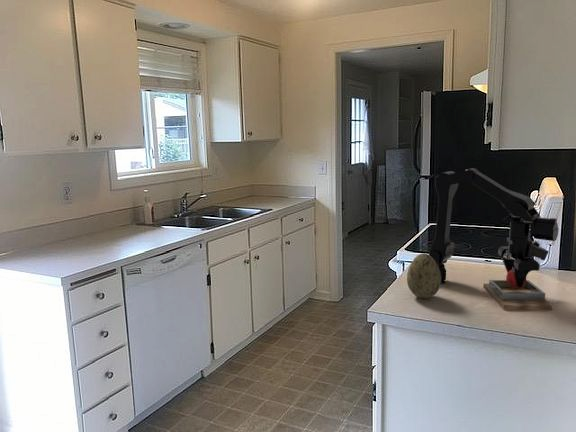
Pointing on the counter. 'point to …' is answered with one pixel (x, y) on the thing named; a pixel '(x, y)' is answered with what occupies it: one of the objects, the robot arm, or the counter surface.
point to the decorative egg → (424, 276)
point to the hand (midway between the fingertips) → (515, 283)
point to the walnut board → (518, 304)
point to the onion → (513, 280)
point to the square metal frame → (516, 296)
